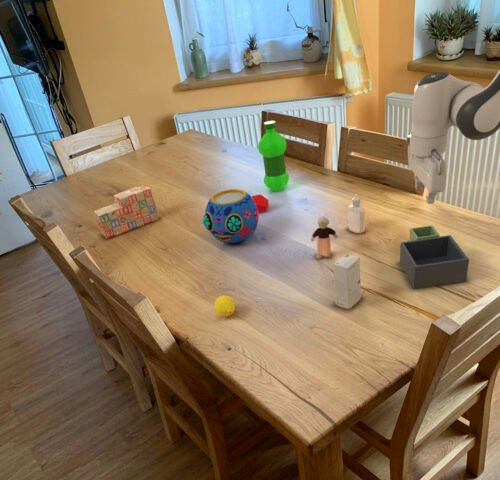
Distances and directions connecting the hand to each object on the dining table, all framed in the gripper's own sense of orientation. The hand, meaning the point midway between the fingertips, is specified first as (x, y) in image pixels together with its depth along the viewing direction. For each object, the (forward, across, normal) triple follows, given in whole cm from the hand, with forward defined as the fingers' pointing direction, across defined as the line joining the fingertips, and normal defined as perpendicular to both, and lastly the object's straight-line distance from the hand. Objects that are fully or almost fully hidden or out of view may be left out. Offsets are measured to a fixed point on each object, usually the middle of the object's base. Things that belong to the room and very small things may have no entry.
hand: (424, 195), depth 135 cm
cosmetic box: (+16, -22, +25) cm, 37 cm away
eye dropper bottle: (+16, +16, +15) cm, 27 cm away
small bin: (+16, 0, -1) cm, 16 cm away
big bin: (+16, -14, +1) cm, 21 cm away
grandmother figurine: (+16, +3, +27) cm, 32 cm away
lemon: (+16, -20, +57) cm, 63 cm away
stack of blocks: (+16, +46, +94) cm, 106 cm away
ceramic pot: (+16, +23, +54) cm, 61 cm away
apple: (+16, +42, +45) cm, 64 cm away
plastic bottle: (+16, +60, +37) cm, 73 cm away
